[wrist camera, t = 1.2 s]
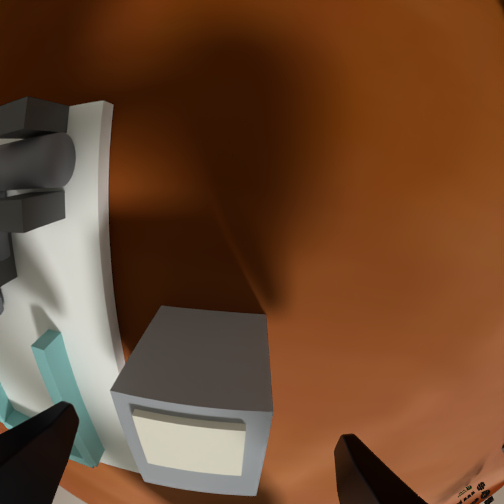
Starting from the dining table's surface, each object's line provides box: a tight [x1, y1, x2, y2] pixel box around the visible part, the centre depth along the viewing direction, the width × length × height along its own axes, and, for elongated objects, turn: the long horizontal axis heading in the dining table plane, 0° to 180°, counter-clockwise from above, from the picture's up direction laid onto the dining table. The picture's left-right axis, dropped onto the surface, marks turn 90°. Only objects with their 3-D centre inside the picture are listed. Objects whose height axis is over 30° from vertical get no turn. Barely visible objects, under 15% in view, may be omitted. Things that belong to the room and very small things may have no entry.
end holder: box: [0, 329, 105, 468], centre depth 11 cm, size 9×9×2 cm
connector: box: [110, 306, 273, 496], centre depth 9 cm, size 5×4×5 cm
